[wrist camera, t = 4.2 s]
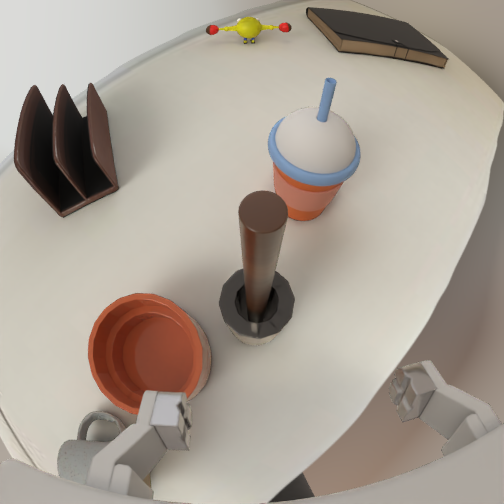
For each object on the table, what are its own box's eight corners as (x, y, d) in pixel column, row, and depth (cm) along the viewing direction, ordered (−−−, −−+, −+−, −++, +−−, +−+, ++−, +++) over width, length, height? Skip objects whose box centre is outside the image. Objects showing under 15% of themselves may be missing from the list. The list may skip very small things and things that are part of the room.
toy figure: (287, 37, 53) (289, 13, 46) (292, 47, 51) (294, 22, 44) (208, 40, 52) (205, 16, 46) (207, 50, 50) (204, 24, 44)
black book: (342, 38, 47) (306, 4, 56) (339, 53, 50) (305, 16, 60) (450, 58, 49) (404, 19, 58) (445, 69, 52) (401, 29, 62)
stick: (265, 323, 30) (295, 224, 9) (250, 327, 29) (247, 239, 9) (260, 308, 30) (277, 184, 10) (245, 313, 30) (232, 197, 10)
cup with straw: (316, 246, 33) (367, 138, 17) (249, 208, 35) (248, 85, 18) (347, 192, 36) (396, 83, 19) (287, 160, 38) (303, 44, 21)
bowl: (226, 393, 27) (219, 400, 22) (130, 415, 26) (105, 423, 20) (194, 294, 31) (182, 278, 26) (105, 320, 30) (79, 310, 24)
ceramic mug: (161, 490, 23) (138, 516, 16) (102, 490, 22) (70, 510, 15) (133, 406, 27) (100, 414, 19) (76, 412, 26) (37, 417, 19)
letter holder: (62, 219, 35) (5, 162, 22) (61, 135, 42) (28, 81, 29) (120, 190, 36) (75, 118, 23) (107, 111, 43) (81, 51, 30)
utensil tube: (289, 335, 30) (304, 323, 21) (238, 352, 29) (232, 347, 21) (271, 286, 32) (279, 257, 23) (222, 302, 31) (211, 278, 23)
